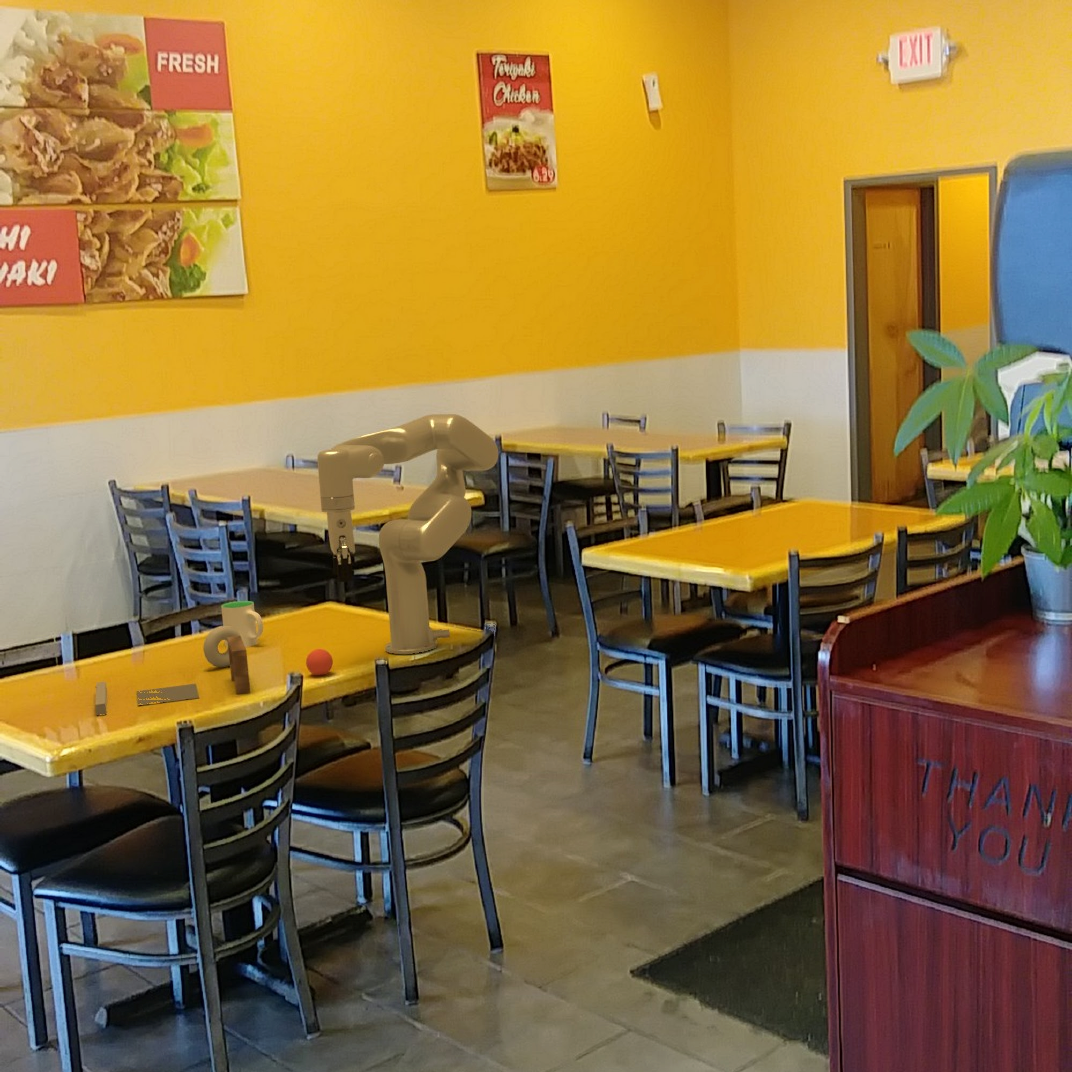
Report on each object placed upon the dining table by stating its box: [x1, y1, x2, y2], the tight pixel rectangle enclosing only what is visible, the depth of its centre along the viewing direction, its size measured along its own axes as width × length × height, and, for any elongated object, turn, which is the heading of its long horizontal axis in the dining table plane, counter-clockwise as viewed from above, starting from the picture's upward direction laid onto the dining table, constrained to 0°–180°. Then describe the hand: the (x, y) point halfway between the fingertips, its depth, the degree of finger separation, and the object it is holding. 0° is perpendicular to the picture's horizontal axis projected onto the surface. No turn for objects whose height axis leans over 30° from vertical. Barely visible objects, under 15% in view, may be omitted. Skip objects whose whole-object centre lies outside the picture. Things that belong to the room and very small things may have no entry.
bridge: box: [227, 636, 251, 695], centre depth 316 cm, size 3×15×10 cm, turn 16°
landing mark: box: [136, 683, 200, 706], centre depth 313 cm, size 13×13×1 cm
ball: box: [305, 648, 334, 676], centre depth 322 cm, size 6×6×6 cm
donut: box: [203, 625, 240, 668], centre depth 335 cm, size 10×3×10 cm, turn 133°
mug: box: [220, 600, 264, 648], centre depth 357 cm, size 12×8×10 cm
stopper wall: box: [94, 681, 108, 716], centre depth 309 cm, size 2×20×2 cm, turn 16°
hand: (343, 577), depth 323 cm, fingers open, 9 cm apart
